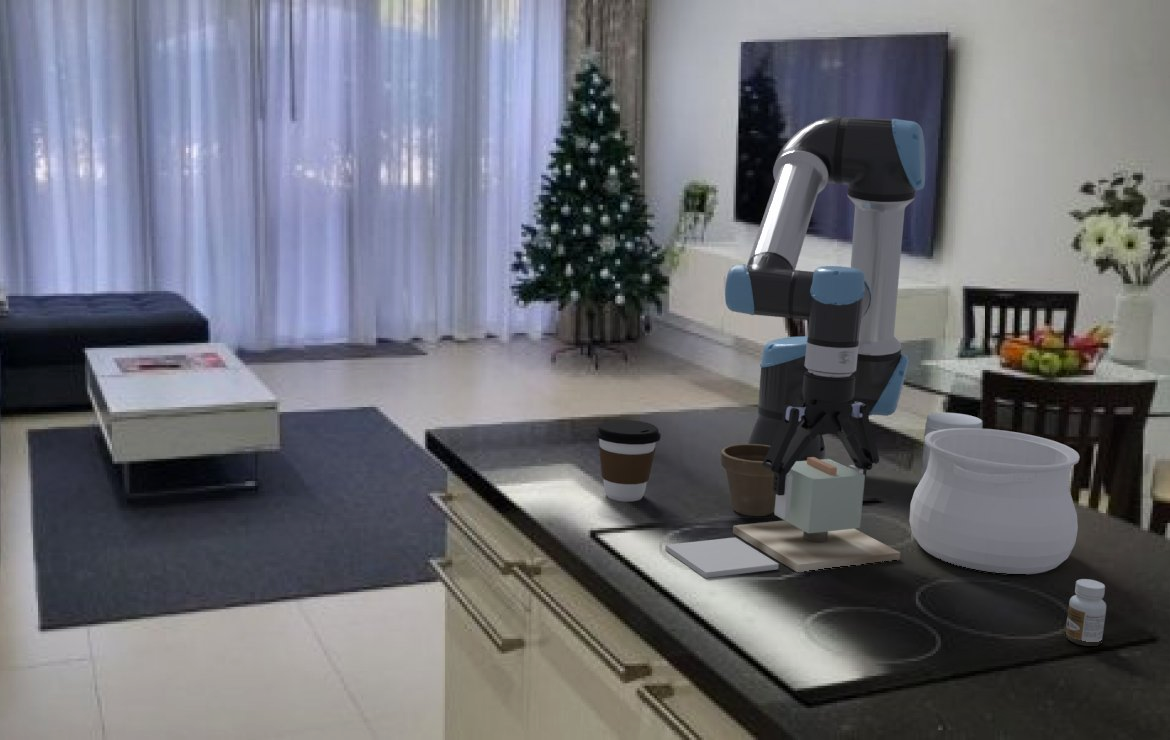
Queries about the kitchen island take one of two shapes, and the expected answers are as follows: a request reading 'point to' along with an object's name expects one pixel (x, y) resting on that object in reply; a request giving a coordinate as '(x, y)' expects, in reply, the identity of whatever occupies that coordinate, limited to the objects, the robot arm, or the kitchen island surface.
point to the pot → (996, 501)
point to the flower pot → (749, 479)
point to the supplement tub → (945, 422)
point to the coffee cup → (626, 457)
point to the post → (814, 546)
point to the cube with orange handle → (825, 496)
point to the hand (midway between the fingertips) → (817, 512)
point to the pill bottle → (1087, 611)
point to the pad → (721, 557)
